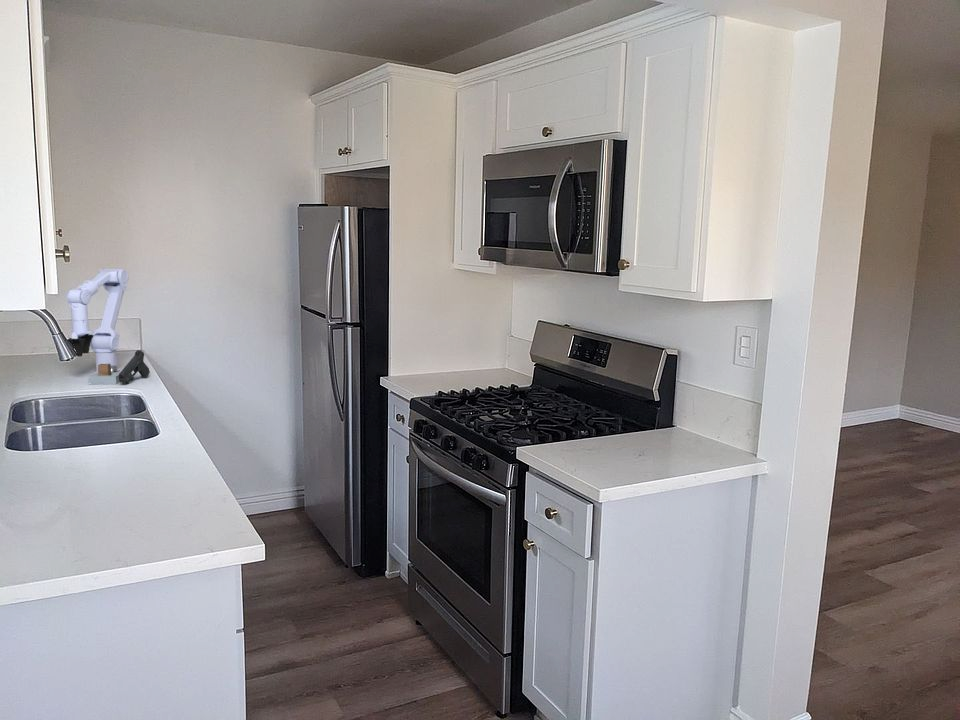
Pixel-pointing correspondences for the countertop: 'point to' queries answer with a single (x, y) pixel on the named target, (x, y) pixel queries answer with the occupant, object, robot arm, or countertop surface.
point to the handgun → (134, 368)
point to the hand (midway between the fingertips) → (82, 354)
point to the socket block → (104, 378)
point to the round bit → (114, 368)
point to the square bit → (104, 369)
